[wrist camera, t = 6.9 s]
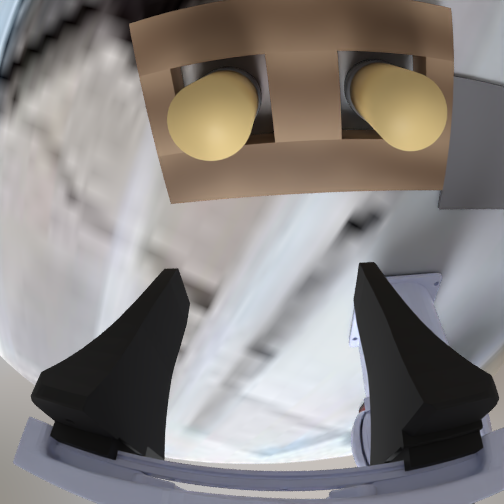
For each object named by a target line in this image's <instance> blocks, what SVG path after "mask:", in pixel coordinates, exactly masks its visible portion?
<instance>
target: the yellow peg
mask: <svg viewBox="0 0 504 504" xmlns="http://www.w3.org/2000/svg"><path fill="white" fill-rule="evenodd" d="M344 92H345V97H346V100H347V102H348V104H349V105H350V107H351V108H352V109H353V110H354V111H355V112H356V113H357V114H358V115H359V116H360V117H361V118H362V119H364V120H365V121H367V122H368V123H369V124H370V125H371V126H372V127H373V128H374V129H375V131H376V132H377V133H378V134H379V135H380V136H381V137H382V138H383V139H384V140H385V141H386V142H387V143H388V144H390V145H391V146H393V147H395V148H397V149H400V150H404V151H418V150H421V149H424V148H426V147H428V146H430V145H431V144H433V143H434V142H435V141H436V140H437V139H438V138H439V137H440V135H441V134H442V132H443V130H444V127H445V125H446V120H447V104H446V101H445V98H444V95H443V93H442V91H441V90H440V88H439V87H438V86H437V85H436V83H435V82H434V81H432V80H431V79H430V78H428V77H426V76H425V75H422V74H420V73H417V72H414V71H410V70H407V69H404V68H401V67H397V66H395V65H393V64H391V63H388V62H385V61H381V60H375V59H371V60H365V61H362V62H360V63H358V64H356V65H355V66H354V67H353V68H352V69H351V70H350V71H349V73H348V74H347V77H346V79H345V84H344Z"/></svg>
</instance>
